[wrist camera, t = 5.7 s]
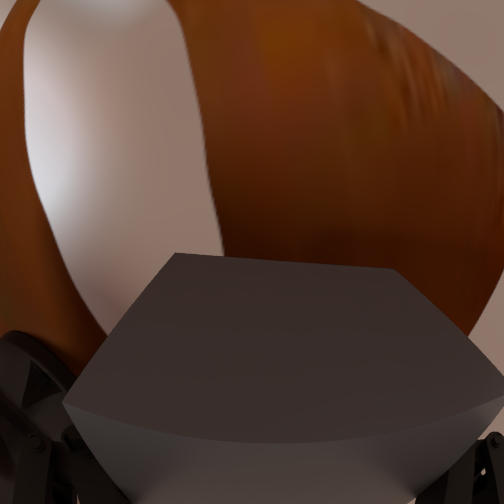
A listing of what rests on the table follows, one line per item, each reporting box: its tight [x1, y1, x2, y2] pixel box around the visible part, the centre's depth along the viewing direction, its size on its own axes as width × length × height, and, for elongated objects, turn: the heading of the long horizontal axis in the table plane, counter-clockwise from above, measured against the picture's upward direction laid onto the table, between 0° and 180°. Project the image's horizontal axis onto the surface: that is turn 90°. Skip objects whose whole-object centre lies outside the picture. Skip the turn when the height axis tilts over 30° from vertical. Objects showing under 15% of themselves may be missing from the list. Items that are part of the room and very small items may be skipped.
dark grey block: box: [62, 253, 504, 504], centre depth 9 cm, size 10×10×9 cm
